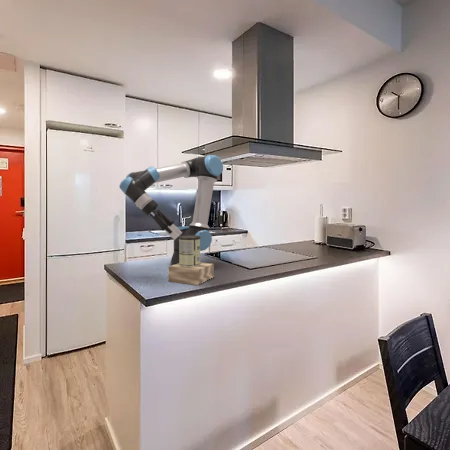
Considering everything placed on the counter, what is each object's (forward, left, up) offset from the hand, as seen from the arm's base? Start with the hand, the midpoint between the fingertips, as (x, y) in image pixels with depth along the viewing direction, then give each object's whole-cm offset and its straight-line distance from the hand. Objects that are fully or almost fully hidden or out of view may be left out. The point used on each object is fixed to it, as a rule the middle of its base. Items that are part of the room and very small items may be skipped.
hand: (178, 236), depth 148 cm
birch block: (-3, +6, -21) cm, 22 cm away
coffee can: (-2, +5, -14) cm, 15 cm away
